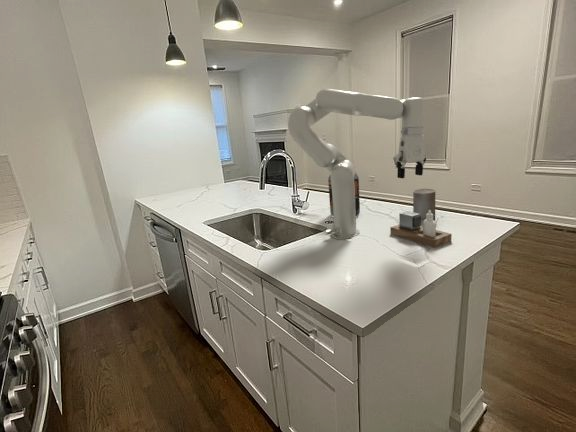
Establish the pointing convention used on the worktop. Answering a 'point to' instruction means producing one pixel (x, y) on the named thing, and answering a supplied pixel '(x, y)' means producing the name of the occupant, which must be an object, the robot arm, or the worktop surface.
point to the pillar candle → (424, 202)
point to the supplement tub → (357, 201)
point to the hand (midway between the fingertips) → (409, 176)
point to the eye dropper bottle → (429, 225)
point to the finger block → (409, 221)
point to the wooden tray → (422, 236)
